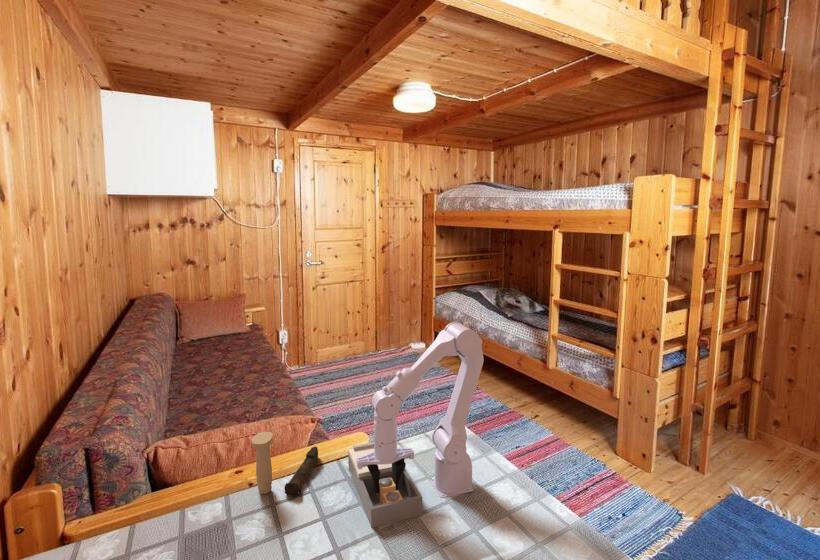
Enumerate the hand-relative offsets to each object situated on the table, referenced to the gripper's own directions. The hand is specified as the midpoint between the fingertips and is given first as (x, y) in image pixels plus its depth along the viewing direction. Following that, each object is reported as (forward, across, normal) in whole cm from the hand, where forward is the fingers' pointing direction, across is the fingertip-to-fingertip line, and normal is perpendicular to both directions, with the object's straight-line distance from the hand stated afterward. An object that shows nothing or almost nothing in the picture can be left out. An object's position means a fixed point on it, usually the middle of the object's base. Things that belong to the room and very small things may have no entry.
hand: (385, 488), depth 109 cm
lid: (-2, 0, -10) cm, 10 cm away
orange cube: (+2, 0, 0) cm, 3 cm away
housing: (+3, 0, -4) cm, 5 cm away
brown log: (+3, +19, -18) cm, 26 cm away
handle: (+3, +29, -14) cm, 32 cm away
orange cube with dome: (+2, 0, +6) cm, 6 cm away
